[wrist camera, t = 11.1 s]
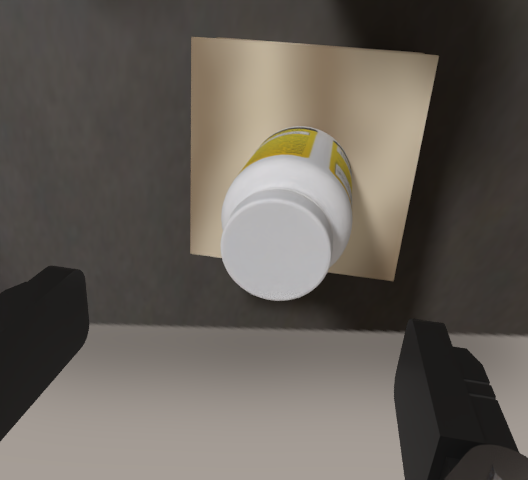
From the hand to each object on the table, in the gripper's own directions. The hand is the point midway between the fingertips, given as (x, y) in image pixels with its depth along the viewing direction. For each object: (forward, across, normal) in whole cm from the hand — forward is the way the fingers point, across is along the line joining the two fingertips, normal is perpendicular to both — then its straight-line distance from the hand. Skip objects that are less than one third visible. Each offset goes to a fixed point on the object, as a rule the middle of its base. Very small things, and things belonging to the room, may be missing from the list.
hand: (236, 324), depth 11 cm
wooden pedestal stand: (+21, 0, 0) cm, 21 cm away
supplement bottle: (+15, 0, 0) cm, 15 cm away
